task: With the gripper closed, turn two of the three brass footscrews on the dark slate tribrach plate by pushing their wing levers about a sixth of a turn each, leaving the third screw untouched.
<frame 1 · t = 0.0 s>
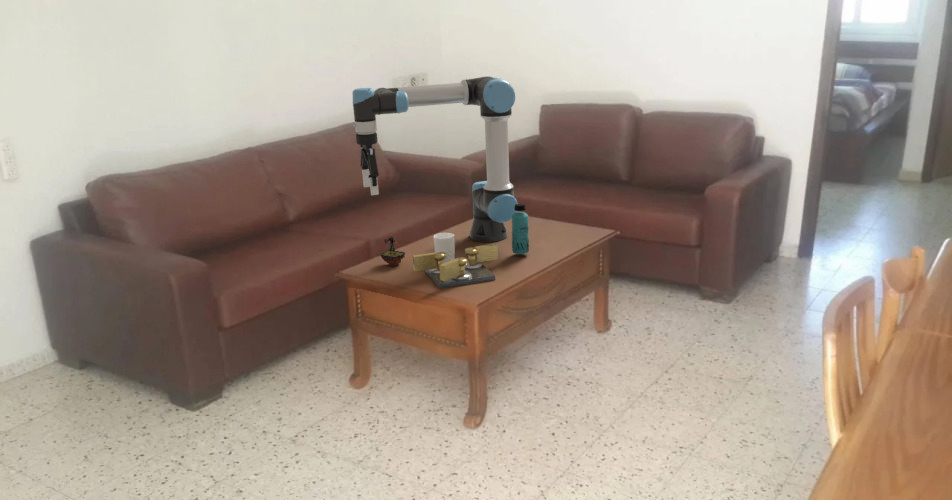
hand: (371, 190, 287), 28 cm above the table, fingers open, 13 cm apart
footscrew C: (454, 269, 270), point 5 cm above the table, hinge at 0.0°
figurine: (393, 265, 293), on the table
beverage bottle: (520, 255, 298), on the table
white cup: (445, 261, 295), on the table
footscrew B: (481, 254, 284), point 5 cm above the table, hinge at 0.0°
footscrew A: (430, 262, 278), point 5 cm above the table, hinge at 0.0°
tribrach plate: (460, 276, 279), on the table
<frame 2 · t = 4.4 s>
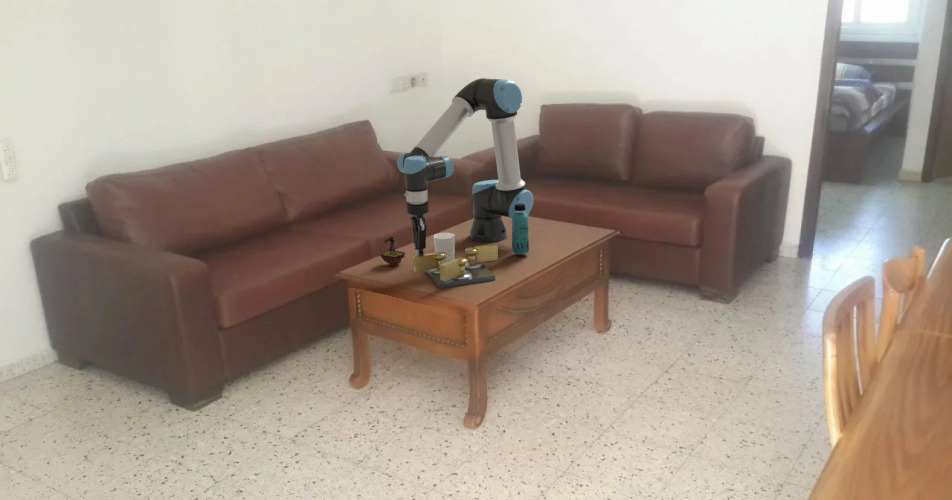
hand: (420, 265, 281), 4 cm above the table, fingers closed
footscrew A: (430, 262, 278), point 5 cm above the table, hinge at 3.6°, touching gripper
everything else where it was.
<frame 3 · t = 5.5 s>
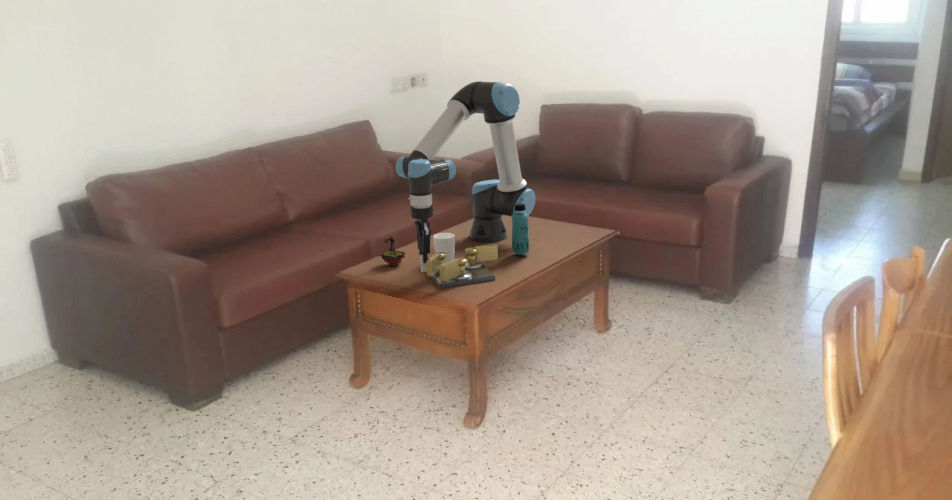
hand: (425, 270, 275), 4 cm above the table, fingers closed
footscrew A: (435, 263, 276), point 5 cm above the table, hinge at 51.4°, touching gripper
everything else where it was.
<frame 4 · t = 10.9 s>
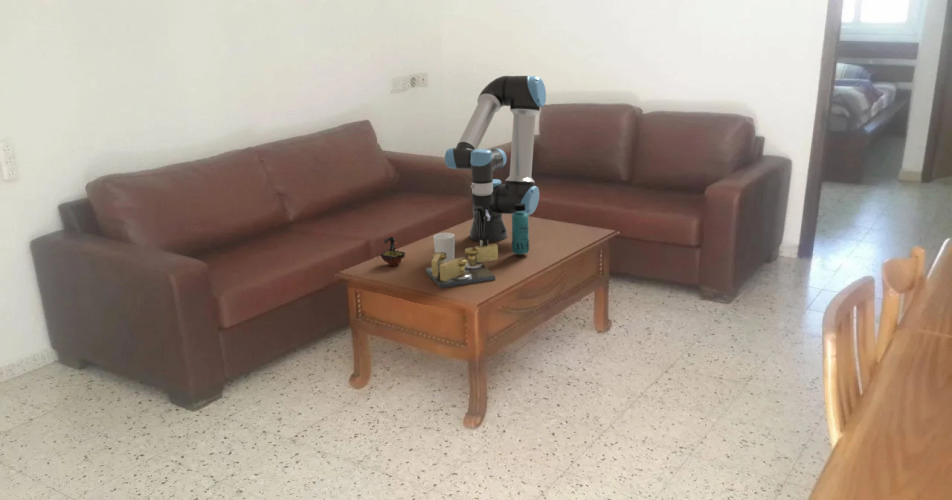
hand: (484, 255, 288), 4 cm above the table, fingers closed
footscrew B: (481, 254, 284), point 5 cm above the table, hinge at -1.6°, touching gripper
footscrew A: (438, 263, 276), point 5 cm above the table, hinge at 63.3°
everything else where it was.
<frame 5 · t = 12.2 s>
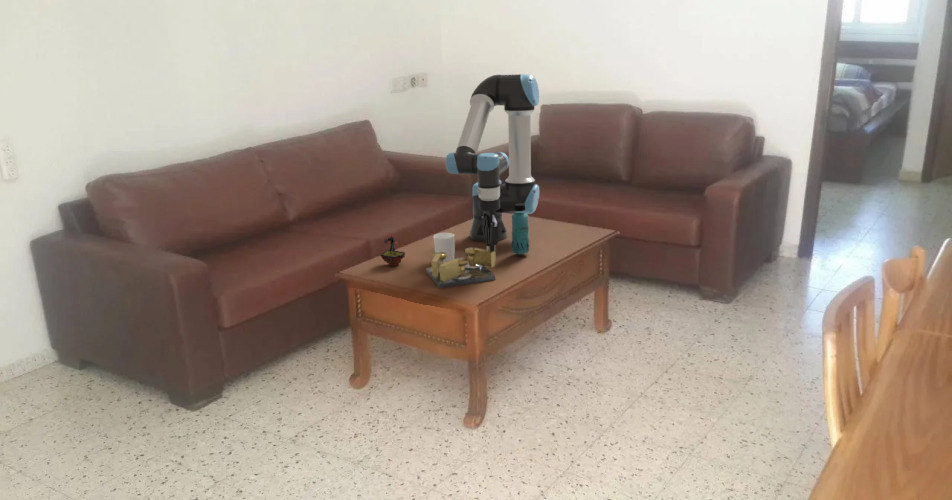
hand: (491, 262, 282), 3 cm above the table, fingers closed
footscrew B: (479, 257, 281), point 5 cm above the table, hinge at -57.0°, touching gripper
everything else where it was.
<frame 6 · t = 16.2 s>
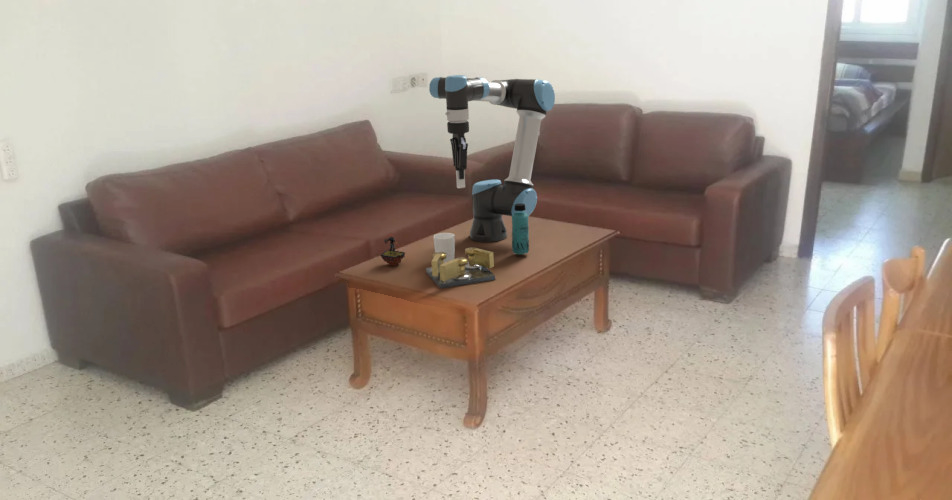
hand: (461, 187, 281), 29 cm above the table, fingers closed
footscrew B: (479, 257, 280), point 5 cm above the table, hinge at -61.9°
everything else where it was.
at the end: footscrew A at +63° (first picture: +0°); footscrew B at -62° (first picture: +0°); footscrew C at +0° (first picture: +0°) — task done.
